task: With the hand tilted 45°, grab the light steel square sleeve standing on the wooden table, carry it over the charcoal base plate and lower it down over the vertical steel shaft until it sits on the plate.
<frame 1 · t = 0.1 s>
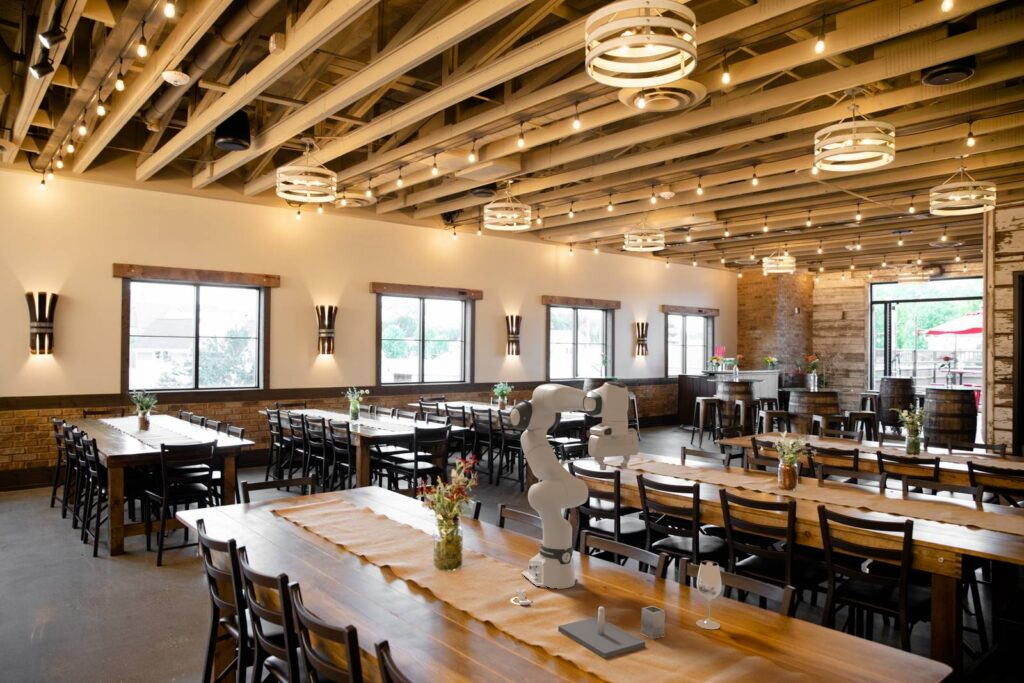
hand: (613, 469, 230), 48 cm above the table, tool pointing down, fingers open, 8 cm apart
wineglass: (708, 625, 218), on the table
shaft plate: (600, 638, 205), on the table
teacup and saucer: (515, 604, 233), on the table
steel sleeve: (652, 635, 209), on the table
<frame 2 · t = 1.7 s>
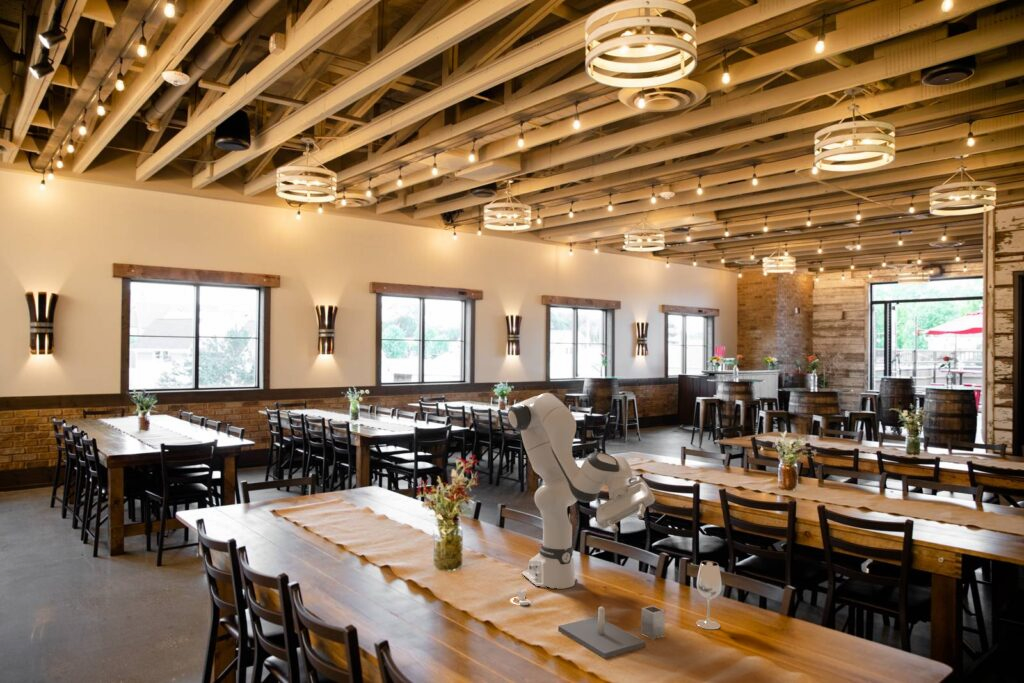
hand: (627, 523, 208), 35 cm above the table, tool tilted 60°, fingers open, 8 cm apart
nothing on the table moved.
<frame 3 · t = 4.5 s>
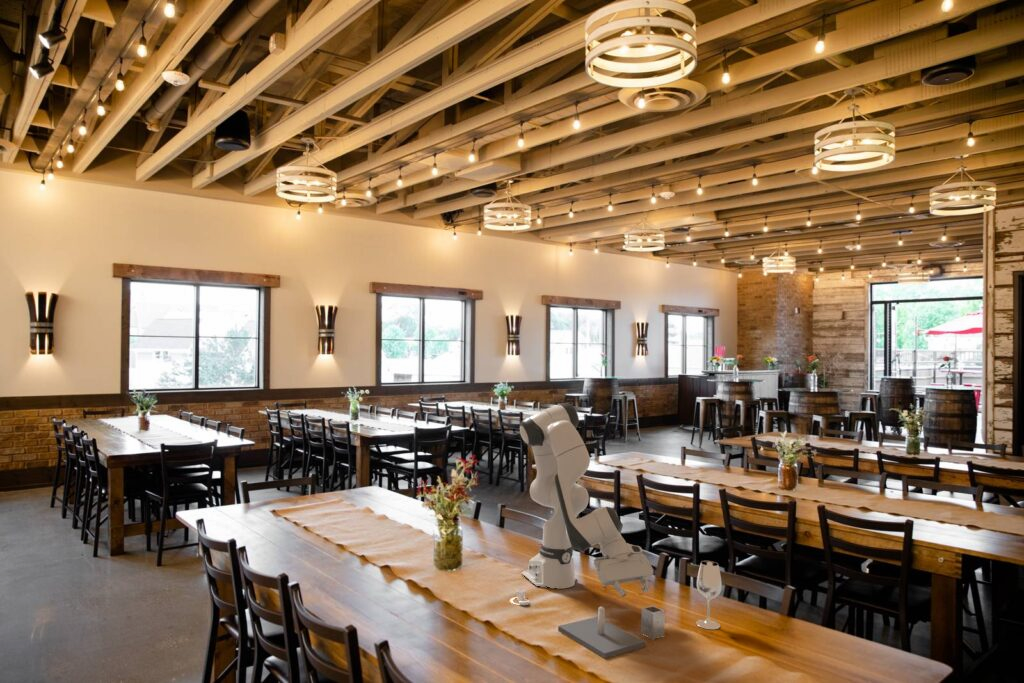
hand: (635, 593, 215), 11 cm above the table, tool tilted 45°, fingers open, 8 cm apart
nothing on the table moved.
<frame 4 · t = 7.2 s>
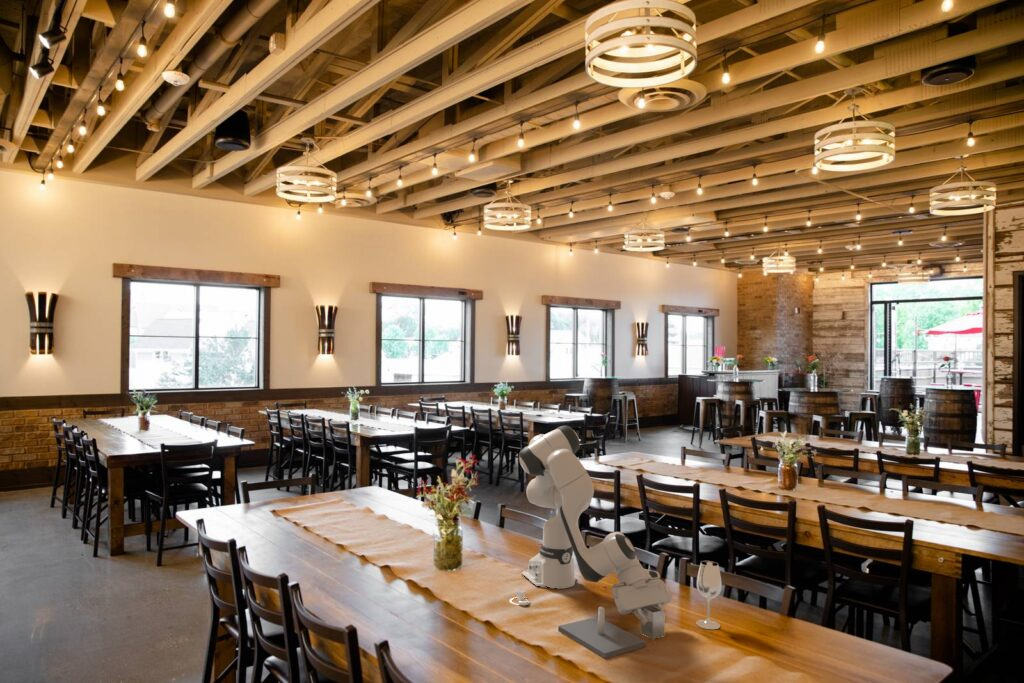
hand: (654, 621, 209), 4 cm above the table, tool tilted 45°, fingers closed on steel sleeve, 5 cm apart
steel sleeve: (652, 635, 209), on the table, touching gripper
everything else where it was.
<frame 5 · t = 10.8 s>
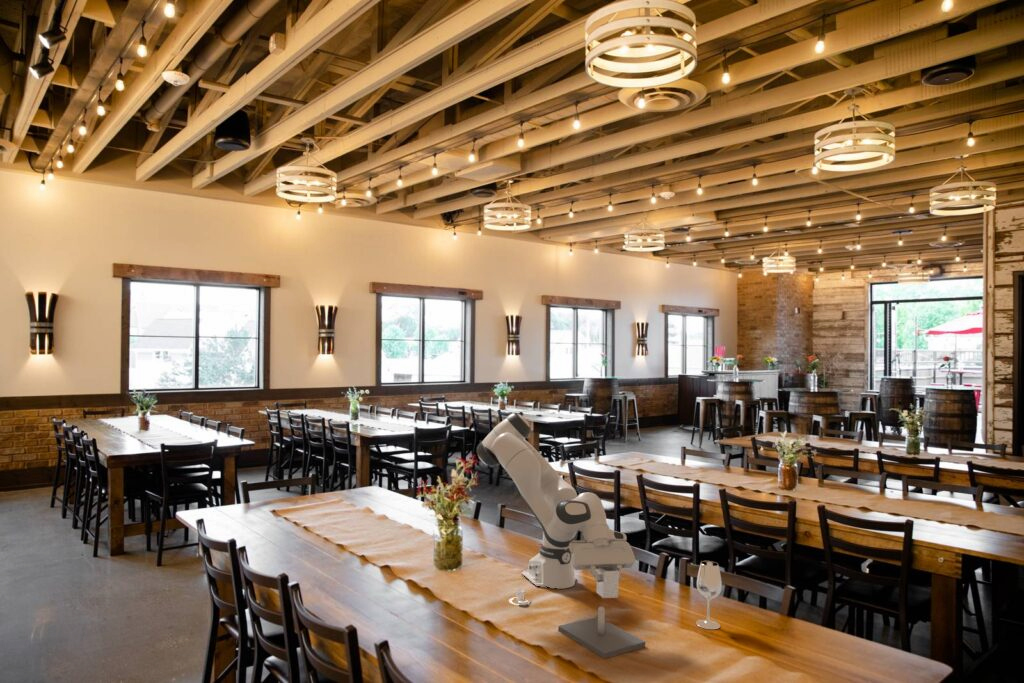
hand: (608, 580, 205), 18 cm above the table, tool tilted 45°, fingers closed on steel sleeve, 5 cm apart
steel sleeve: (607, 594, 206), point 13 cm above the table, touching gripper
everything else where it was.
when the fingers open (7 cm above the table, at t = 14.2 s): steel sleeve stays where it is, resting on shaft plate.
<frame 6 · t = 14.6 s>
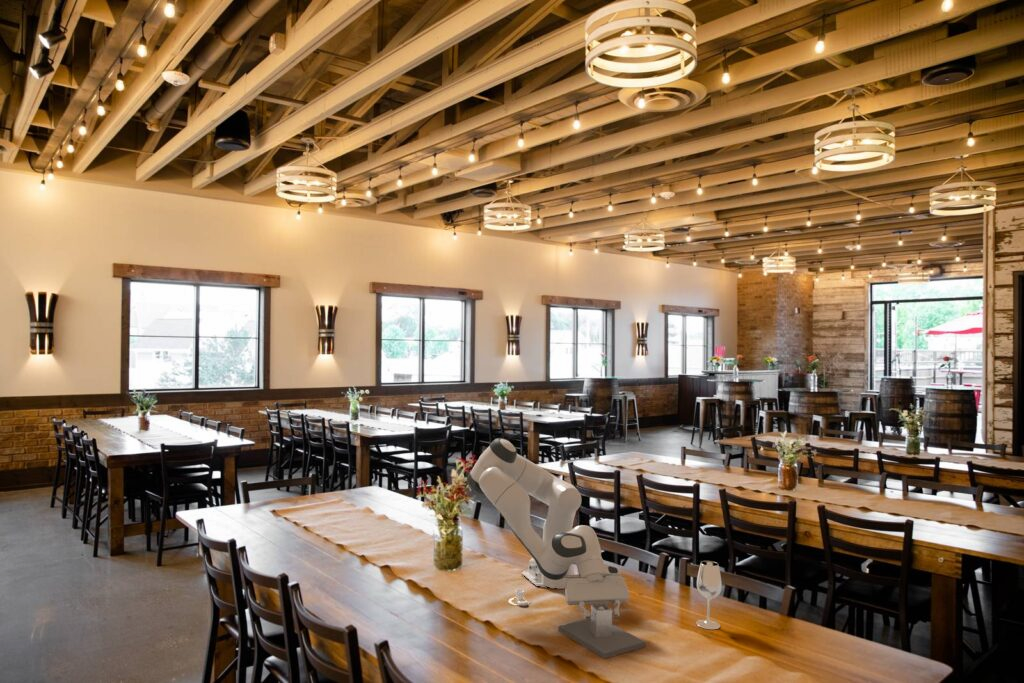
hand: (602, 616, 205), 7 cm above the table, tool tilted 45°, fingers open, 8 cm apart
steel sleeve: (600, 633, 205), point 1 cm above the table, touching shaft plate
everything else where it was.
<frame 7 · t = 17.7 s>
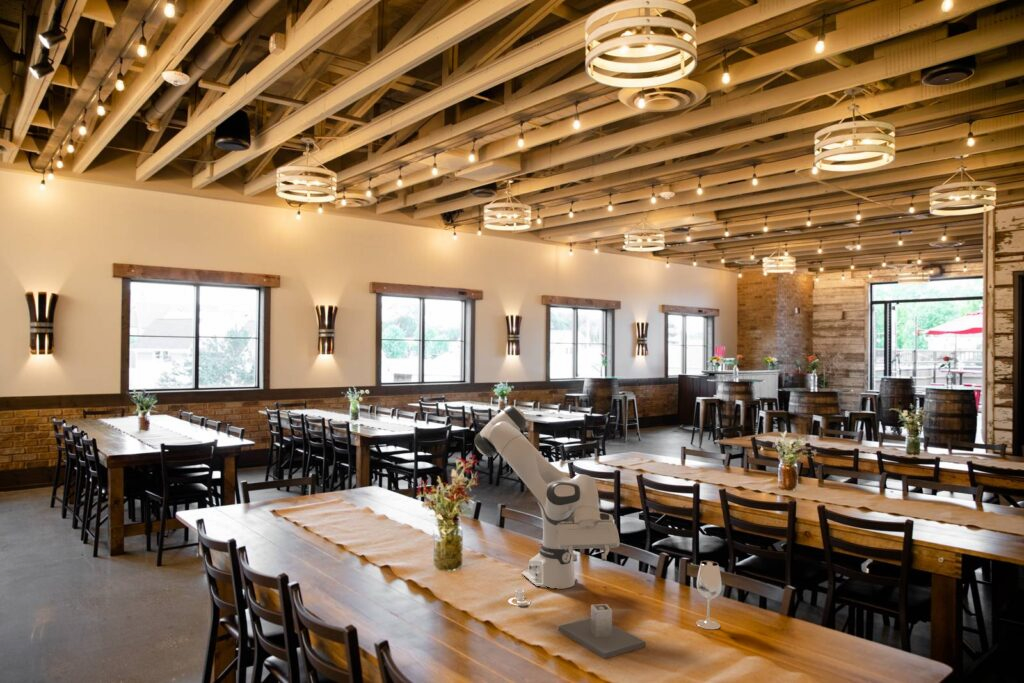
hand: (589, 560, 215), 21 cm above the table, tool tilted 40°, fingers open, 8 cm apart
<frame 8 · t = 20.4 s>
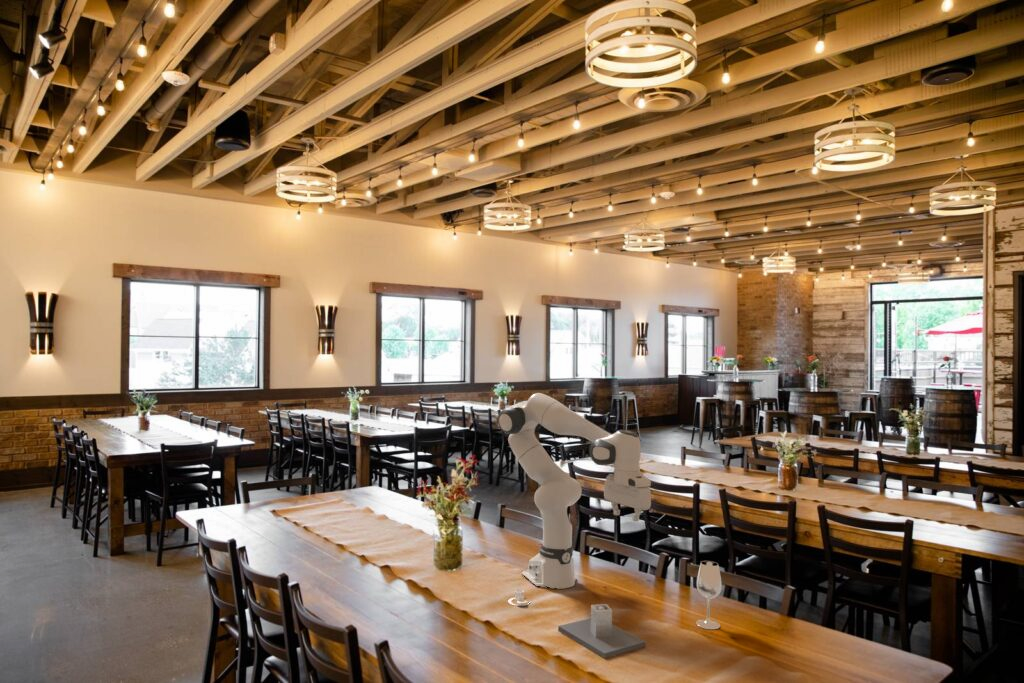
hand: (625, 517, 231), 31 cm above the table, tool pointing down, fingers open, 8 cm apart
at the end: steel sleeve 0.0 cm from the shaft plate (horizontally); steel sleeve point 1.5 cm above the table; steel sleeve tilted 0° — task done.
